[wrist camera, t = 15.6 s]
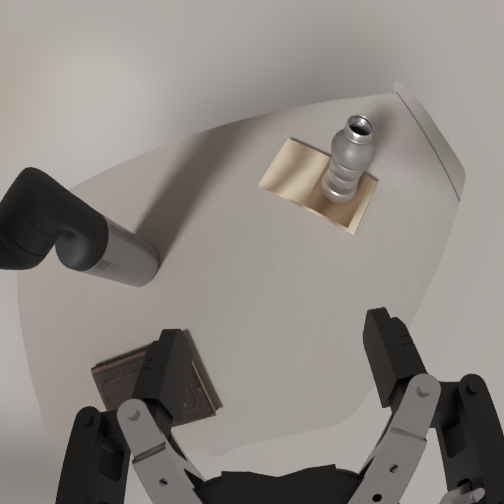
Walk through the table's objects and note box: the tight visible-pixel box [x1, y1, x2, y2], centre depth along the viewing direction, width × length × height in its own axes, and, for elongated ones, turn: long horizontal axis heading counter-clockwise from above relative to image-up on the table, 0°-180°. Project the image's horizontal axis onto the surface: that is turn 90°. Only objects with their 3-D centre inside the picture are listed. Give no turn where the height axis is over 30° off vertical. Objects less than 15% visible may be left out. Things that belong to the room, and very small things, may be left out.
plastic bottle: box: [322, 115, 374, 204], centre depth 40 cm, size 6×7×20 cm
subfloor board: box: [259, 138, 377, 234], centre depth 51 cm, size 20×12×1 cm, turn 59°
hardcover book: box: [91, 348, 216, 427], centre depth 46 cm, size 16×23×2 cm
